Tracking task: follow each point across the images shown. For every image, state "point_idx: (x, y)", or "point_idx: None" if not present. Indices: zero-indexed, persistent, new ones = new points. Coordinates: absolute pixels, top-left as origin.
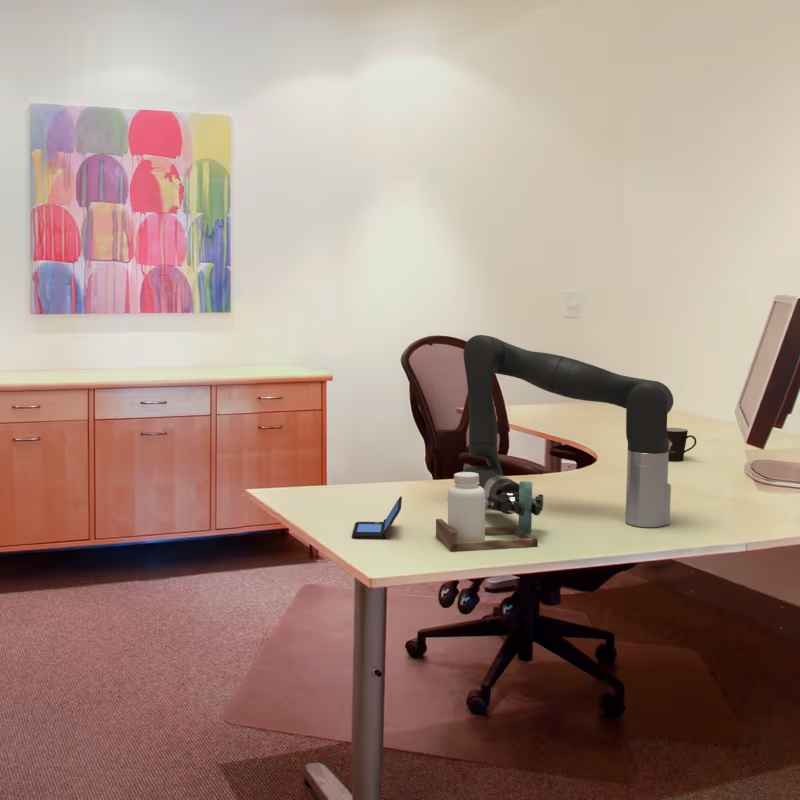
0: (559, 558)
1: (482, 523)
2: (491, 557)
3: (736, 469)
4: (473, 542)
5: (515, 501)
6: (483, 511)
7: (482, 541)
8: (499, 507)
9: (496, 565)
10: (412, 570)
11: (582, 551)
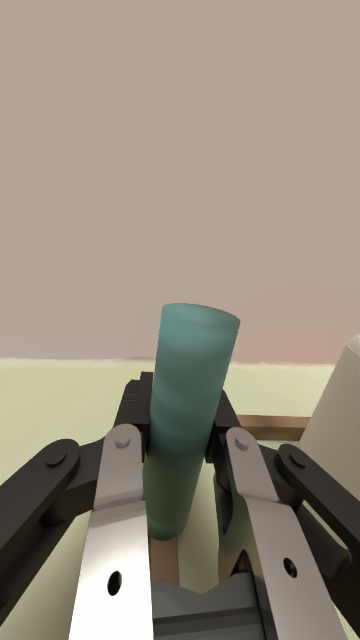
0: (149, 366)
1: (311, 418)
2: (248, 389)
3: None
4: (300, 419)
5: (232, 439)
6: (324, 392)
7: (283, 421)
8: (339, 567)
9: (237, 365)
10: (327, 373)
11: (88, 382)
